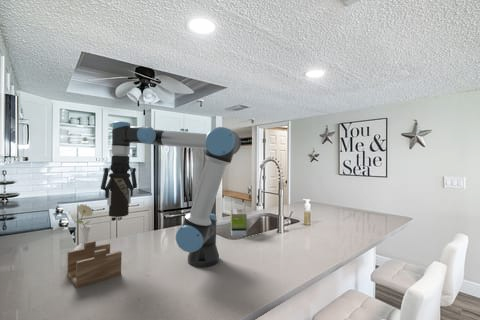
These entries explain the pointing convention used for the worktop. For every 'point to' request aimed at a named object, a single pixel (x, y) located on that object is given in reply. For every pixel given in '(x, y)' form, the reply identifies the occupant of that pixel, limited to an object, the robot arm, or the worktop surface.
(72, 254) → the holder
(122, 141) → the robot arm
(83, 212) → the flower in vase
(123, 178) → the container
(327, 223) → the worktop surface
